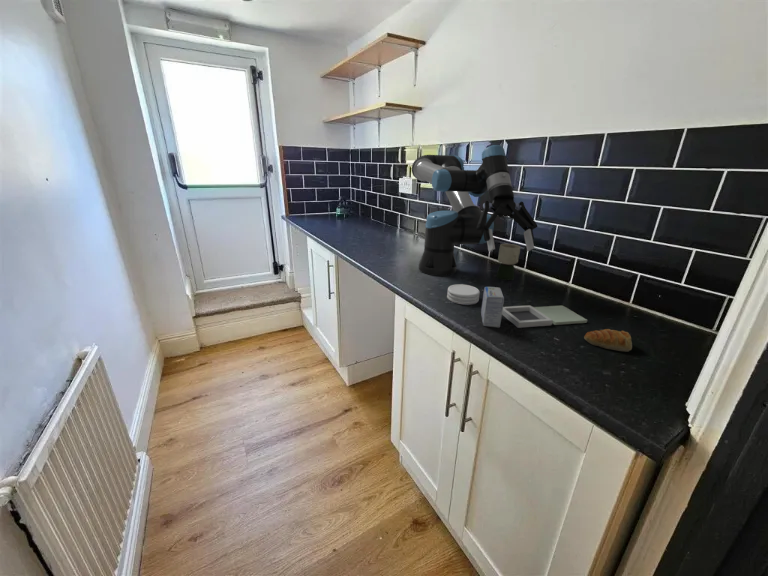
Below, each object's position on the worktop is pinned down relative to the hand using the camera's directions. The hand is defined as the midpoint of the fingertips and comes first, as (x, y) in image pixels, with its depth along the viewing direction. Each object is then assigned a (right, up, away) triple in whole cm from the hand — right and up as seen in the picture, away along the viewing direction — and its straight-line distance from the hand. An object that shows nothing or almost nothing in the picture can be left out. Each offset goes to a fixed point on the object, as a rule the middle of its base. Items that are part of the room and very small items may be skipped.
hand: (511, 250), depth 102 cm
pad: (+10, -20, -9) cm, 24 cm away
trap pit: (-1, -21, -11) cm, 23 cm away
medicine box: (-11, -21, -13) cm, 27 cm away
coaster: (-15, -16, +2) cm, 22 cm away
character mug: (+6, -9, +21) cm, 23 cm away
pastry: (+14, -26, -23) cm, 38 cm away
